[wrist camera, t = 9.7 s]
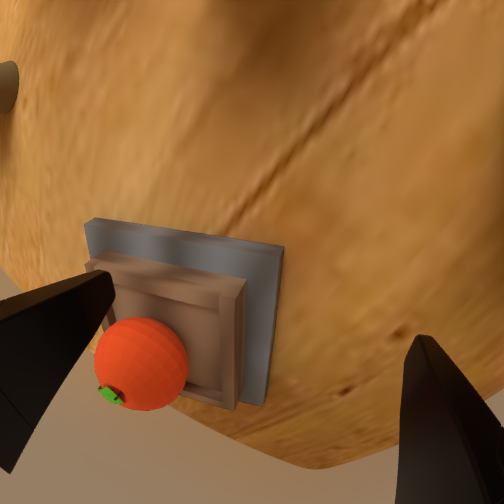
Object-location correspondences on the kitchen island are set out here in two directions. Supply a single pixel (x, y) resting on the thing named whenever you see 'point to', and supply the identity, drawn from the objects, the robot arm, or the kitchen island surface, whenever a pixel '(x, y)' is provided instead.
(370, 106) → the kitchen island surface
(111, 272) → the fruit stand
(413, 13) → the kitchen island surface
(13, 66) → the pepper mill
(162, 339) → the clementine
